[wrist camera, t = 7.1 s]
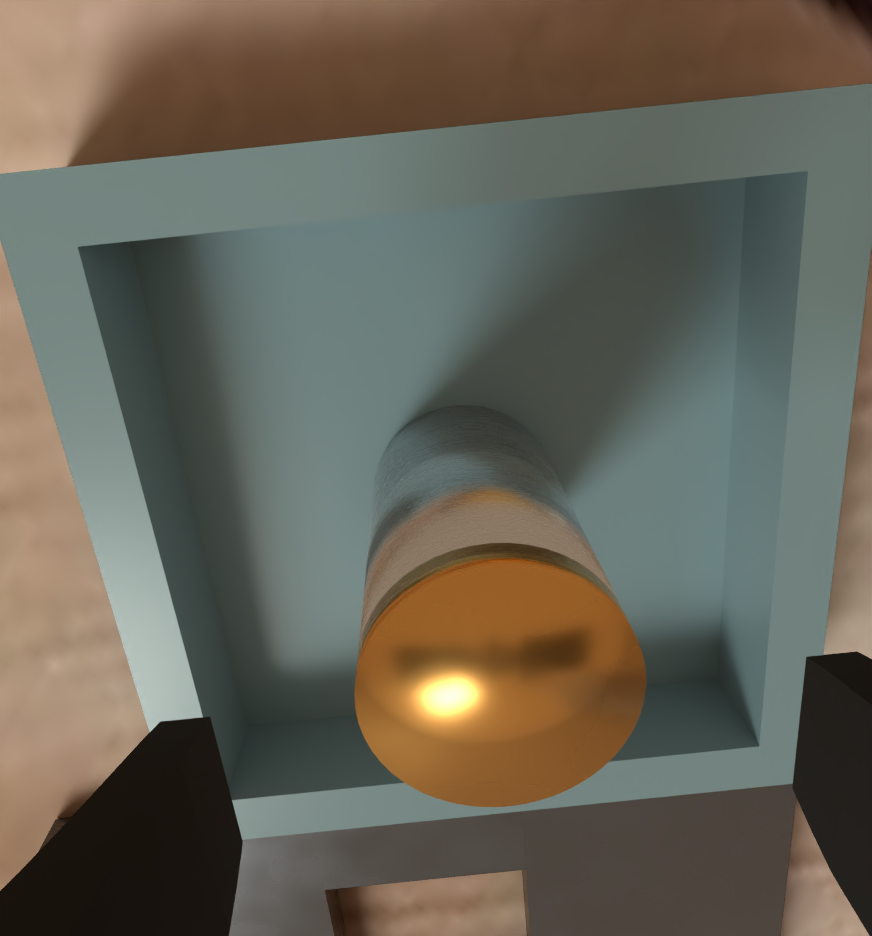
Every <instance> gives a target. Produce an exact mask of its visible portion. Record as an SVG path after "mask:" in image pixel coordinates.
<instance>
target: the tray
mask: <svg viewBox="0 0 872 936" xmlns="http://www.w3.org/2000/svg"><path fill="white" fill-rule="evenodd" d="M0 241H1V244H2V247H3V250H4V254H5V257H6V260H7V264H8V267H9V270H10V274H11V277H12V280H13V283H14V287H15V290H16V293H17V297H18V300H19V303H20V307H21V310H22V313H23V316H24V320H25V323H26V326H27V330H28V333H29V336H30V340H31V343H32V346H33V349H34V353H35V356H36V359H37V363H38V366H39V369H40V372H41V376H42V379H43V382H44V386H45V389H46V392H47V396H48V399H49V402H50V405H51V409H52V412H53V415H54V419H55V422H56V425H57V429H58V432H59V435H60V438H61V442H62V445H63V448H64V452H65V455H66V458H67V462H68V465H69V468H70V471H71V475H72V478H73V481H74V485H75V488H76V491H77V495H78V498H79V501H80V504H81V508H82V511H83V514H84V518H85V521H86V524H87V528H88V531H89V534H90V537H91V541H92V544H93V547H94V551H95V554H96V557H97V561H98V564H99V567H100V570H101V574H102V577H103V580H104V584H105V587H106V590H107V594H108V597H109V600H110V603H111V607H112V610H113V613H114V617H115V620H116V623H117V627H118V630H119V633H120V636H121V640H122V643H123V646H124V650H125V653H126V656H127V660H128V663H129V666H130V669H131V673H132V676H133V679H134V683H135V686H136V689H137V693H138V696H139V699H140V702H141V706H142V709H143V712H144V716H145V719H146V722H147V726H148V729H149V732H151V731H152V730H153V729H154V728H155V727H156V726H157V724H158V723H159V722H161V721H171V720H181V719H191V718H201V717H210V718H211V722H212V725H213V729H214V733H215V737H216V741H217V745H218V748H219V752H220V756H221V760H222V764H223V768H224V771H225V775H226V779H227V783H228V787H229V791H230V794H231V798H232V802H233V806H234V810H235V814H236V817H237V821H238V825H239V829H240V833H241V837H242V840H245V839H255V838H265V837H274V836H284V835H294V834H304V833H314V832H323V831H333V830H343V829H353V828H363V827H373V826H382V825H392V824H402V823H412V822H422V821H431V820H441V819H451V818H461V817H471V816H480V815H490V814H500V813H510V812H520V811H529V810H539V809H549V808H559V807H569V806H579V805H588V804H598V803H608V802H618V801H628V800H637V799H647V798H657V797H667V796H677V795H686V794H696V793H706V792H716V791H726V790H735V789H745V788H755V787H765V786H775V785H785V784H793V776H794V767H795V757H796V748H797V738H798V729H799V720H800V710H801V701H802V692H803V682H804V673H805V664H806V657H809V656H819V655H823V652H824V643H825V635H826V627H827V618H828V610H829V601H830V593H831V584H832V576H833V567H834V559H835V551H836V542H837V534H838V525H839V517H840V508H841V500H842V492H843V483H844V475H845V466H846V458H847V449H848V441H849V433H850V424H851V416H852V407H853V399H854V390H855V382H856V373H857V365H858V357H859V348H860V340H861V331H862V323H863V314H864V306H865V298H866V289H867V281H868V272H869V264H870V255H871V247H872V83H870V84H860V85H850V86H841V87H831V88H822V89H812V90H802V91H793V92H783V93H773V94H764V95H754V96H745V97H735V98H725V99H716V100H706V101H697V102H687V103H677V104H668V105H658V106H648V107H639V108H629V109H620V110H610V111H600V112H591V113H581V114H572V115H562V116H552V117H543V118H533V119H523V120H514V121H504V122H495V123H485V124H475V125H466V126H456V127H447V128H437V129H427V130H418V131H408V132H398V133H389V134H379V135H370V136H360V137H350V138H341V139H331V140H322V141H312V142H302V143H293V144H283V145H273V146H264V147H254V148H245V149H235V150H225V151H216V152H206V153H196V154H187V155H177V156H168V157H158V158H148V159H139V160H129V161H120V162H110V163H100V164H91V165H81V166H71V167H62V168H52V169H43V170H33V171H23V172H14V173H4V174H0ZM458 405H472V406H481V407H486V408H490V409H494V410H497V411H499V412H502V413H504V414H506V415H508V416H510V417H512V418H514V419H515V420H517V421H518V422H520V423H521V424H522V425H524V426H525V427H526V428H527V429H528V430H529V431H530V432H531V433H532V434H533V435H534V436H535V438H536V439H537V440H538V442H539V443H540V445H541V446H542V448H543V450H544V452H545V454H546V456H547V458H548V460H549V462H550V464H551V466H552V468H553V470H554V472H555V474H556V476H557V478H558V480H559V482H560V484H561V486H562V488H563V490H564V492H565V494H566V496H567V498H568V500H569V502H570V504H571V506H572V508H573V510H574V512H575V514H576V516H577V518H578V520H579V522H580V524H581V526H582V528H583V531H584V533H585V535H586V537H587V539H588V541H589V543H590V545H591V547H592V549H593V551H594V553H595V555H596V557H597V559H598V561H599V563H600V565H601V567H602V569H603V571H604V573H605V575H606V577H607V579H608V581H609V583H610V585H611V587H612V589H613V591H614V593H615V595H616V597H617V599H618V601H619V603H620V605H621V607H622V609H623V611H624V613H625V615H626V617H627V619H628V621H629V623H630V625H631V628H632V630H633V632H634V634H635V636H636V638H637V640H638V642H639V645H640V648H641V651H642V653H643V658H644V663H645V668H646V691H645V698H644V703H643V706H642V710H641V713H640V716H639V719H638V721H637V723H636V725H635V727H634V730H633V731H632V733H631V735H630V736H629V738H628V739H627V741H626V742H625V744H624V745H623V746H622V748H621V749H620V750H619V751H618V752H617V754H616V755H615V756H614V757H613V758H612V759H611V760H610V761H609V762H608V763H607V764H606V765H605V766H604V767H603V768H601V769H600V770H599V771H597V772H596V773H595V774H593V775H592V776H591V777H589V778H588V779H586V780H585V781H583V782H581V783H580V784H578V785H576V786H575V787H573V788H571V789H568V790H566V791H564V792H562V793H560V794H557V795H555V796H552V797H549V798H546V799H543V800H540V801H535V802H531V803H527V804H522V805H515V806H507V807H477V806H467V805H461V804H455V803H451V802H447V801H444V800H440V799H437V798H434V797H432V796H429V795H427V794H425V793H422V792H420V791H418V790H416V789H415V788H413V787H411V786H409V785H407V784H406V783H404V782H403V781H402V780H400V779H399V778H397V777H396V776H395V775H393V774H392V773H391V772H390V771H389V770H388V769H387V768H386V767H385V766H384V765H383V764H382V763H381V762H380V761H379V759H378V758H377V757H376V756H375V754H374V753H373V752H372V751H371V749H370V747H369V745H368V744H367V742H366V740H365V738H364V736H363V734H362V731H361V728H360V726H359V723H358V719H357V714H356V709H355V682H356V671H357V660H358V650H359V639H360V628H361V617H362V607H363V596H364V585H365V574H366V564H367V553H368V542H369V531H370V521H371V510H372V499H373V488H374V479H375V473H376V470H377V466H378V463H379V461H380V458H381V456H382V454H383V452H384V451H385V449H386V447H387V445H388V444H389V443H390V442H391V440H392V439H393V438H394V436H395V435H396V434H397V433H399V432H400V431H401V430H402V429H403V428H404V427H405V426H406V425H408V424H409V423H410V422H412V421H413V420H415V419H417V418H419V417H420V416H422V415H424V414H427V413H429V412H432V411H434V410H437V409H441V408H445V407H451V406H458Z"/></svg>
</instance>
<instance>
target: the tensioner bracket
mask: <svg viewBox="0 0 872 936" xmlns="http://www.w3.org/2000/svg"><path fill="white" fill-rule="evenodd" d="M792 785H793V784H785V785H775V786H765V787H755V788H745V789H735V790H726V791H716V792H706V793H696V794H686V795H677V796H667V797H657V798H647V799H637V800H628V801H618V802H608V803H598V804H588V805H579V806H569V807H559V808H549V809H539V810H529V811H520V812H510V813H500V814H490V815H480V816H471V817H461V818H451V819H441V820H431V821H422V822H412V823H402V824H392V825H382V826H373V827H363V828H353V829H343V830H333V831H323V832H314V833H304V834H294V835H284V836H274V837H265V838H255V839H245V840H243V846H242V853H241V860H240V867H239V875H238V882H237V889H236V895H235V902H234V908H233V914H232V920H231V926H230V932H229V936H346V933H345V929H344V924H343V919H342V914H341V909H340V904H339V899H338V894H337V890H336V889H339V888H349V887H359V886H369V885H379V884H389V883H398V882H408V881H418V880H428V879H438V878H447V877H457V876H467V875H477V874H487V873H497V872H506V871H516V870H522V875H523V889H524V902H525V916H526V930H527V936H781V927H782V918H783V909H784V900H785V891H786V882H787V873H788V864H789V855H790V846H791V837H792V828H793V819H794V810H795V801H796V795H795V793H794V791H793V788H792ZM69 819H70V818H67V819H58V820H55V822H54V824H53V826H52V827H51V829H50V831H49V833H48V835H47V837H46V839H45V840H44V842H43V844H42V846H41V848H40V850H41V849H42V848H43V847H44V846H45V845H46V844H47V843H48V842H49V840H50V839H51V838H52V837H53V836H54V835H55V834H56V833H57V832H58V831H59V830H60V829H61V828H62V827H63V826H64V825H65V823H66V822H67V821H68V820H69ZM40 850H39V851H40Z"/></svg>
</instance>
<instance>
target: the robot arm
mask: <svg viewBox="0 0 872 936" xmlns="http://www.w3.org/2000/svg"><path fill="white" fill-rule="evenodd" d="M792 788H793V791H794V793H795V795H796V797H797V799H798V802H799V804H800V806H801V808H802V811H803V813H804V815H805V817H806V819H807V822H808V824H809V826H810V828H811V831H812V833H813V835H814V837H815V839H816V841H817V843H818V845H819V847H820V849H821V851H822V854H823V856H824V858H825V860H826V862H827V864H828V866H829V868H830V870H831V872H832V874H833V876H834V877H835V879H836V881H837V882H838V884H839V886H840V887H841V889H842V891H843V892H844V894H845V896H846V897H847V899H848V901H849V902H850V904H851V906H852V907H853V909H854V911H855V912H856V914H857V915H858V917H859V919H860V920H861V922H862V924H863V925H864V927H865V929H866V930H867V932H868V934H869V935H870V936H872V659H870V658H868V657H866V656H864V655H863V654H861V653H859V652H849V653H839V654H829V655H819V656H809V657H806V664H805V673H804V682H803V692H802V701H801V710H800V720H799V729H798V738H797V748H796V757H795V767H794V776H793V785H792ZM242 846H243V840H242V837H241V833H240V829H239V825H238V821H237V817H236V814H235V810H234V806H233V802H232V798H231V794H230V791H229V787H228V783H227V779H226V775H225V771H224V768H223V764H222V760H221V756H220V752H219V748H218V745H217V741H216V737H215V733H214V729H213V725H212V722H211V718H210V717H201V718H191V719H181V720H171V721H161V722H159V723H158V724H157V726H156V727H155V728H154V729H153V730H152V731H151V732H150V733H149V734H148V735H147V736H146V737H145V738H144V739H143V740H142V741H141V742H140V743H139V744H138V745H137V747H136V748H135V749H134V750H133V751H132V752H131V753H130V754H129V755H128V756H127V757H126V759H125V760H124V761H123V762H122V763H121V764H120V765H119V766H118V767H117V768H116V769H115V771H114V772H113V773H112V774H111V775H110V776H109V777H108V778H107V779H106V780H105V781H104V783H103V784H102V785H101V786H100V787H99V788H98V789H97V790H96V791H95V792H94V793H93V795H92V796H91V797H90V798H89V799H88V800H87V801H86V802H85V803H84V804H83V805H82V806H81V808H80V809H79V810H78V811H77V812H76V813H75V814H74V815H73V816H72V817H71V818H70V819H69V820H68V821H67V822H66V823H65V825H64V826H63V827H62V828H61V829H60V830H59V831H58V832H57V833H56V834H55V835H54V836H53V837H52V838H51V839H50V840H49V842H48V843H47V844H46V845H45V846H44V847H43V848H42V849H41V850H40V851H39V852H38V853H37V854H36V855H35V856H34V857H33V858H32V860H31V861H30V862H29V863H28V864H27V865H26V866H25V867H24V868H23V869H22V870H21V871H20V872H19V873H18V874H17V875H16V876H15V877H14V878H13V879H12V880H11V881H10V882H9V883H8V884H7V885H6V886H5V887H4V888H3V889H2V890H1V891H0V936H229V932H230V926H231V920H232V914H233V908H234V902H235V895H236V889H237V882H238V875H239V867H240V860H241V853H242Z"/></svg>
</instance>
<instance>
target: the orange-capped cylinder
mask: <svg viewBox="0 0 872 936" xmlns="http://www.w3.org/2000/svg"><path fill="white" fill-rule="evenodd" d="M645 691H646V668H645V663H644V658H643V653H642V651H641V648H640V645H639V642H638V640H637V638H636V636H635V634H634V632H633V630H632V628H631V625H630V623H629V621H628V619H627V617H626V615H625V613H624V611H623V609H622V607H621V605H620V603H619V601H618V599H617V597H616V595H615V593H614V591H613V589H612V587H611V585H610V583H609V581H608V579H607V577H606V575H605V573H604V571H603V569H602V567H601V565H600V563H599V561H598V559H597V557H596V555H595V553H594V551H593V549H592V547H591V545H590V543H589V541H588V539H587V537H586V535H585V533H584V531H583V528H582V526H581V524H580V522H579V520H578V518H577V516H576V514H575V512H574V510H573V508H572V506H571V504H570V502H569V500H568V498H567V496H566V494H565V492H564V490H563V488H562V486H561V484H560V482H559V480H558V478H557V476H556V474H555V472H554V470H553V468H552V466H551V464H550V462H549V460H548V458H547V456H546V454H545V452H544V450H543V448H542V446H541V445H540V443H539V442H538V440H537V439H536V438H535V436H534V435H533V434H532V433H531V432H530V431H529V430H528V429H527V428H526V427H525V426H524V425H522V424H521V423H520V422H518V421H517V420H515V419H514V418H512V417H510V416H508V415H506V414H504V413H502V412H499V411H497V410H494V409H490V408H486V407H481V406H472V405H458V406H451V407H445V408H441V409H437V410H434V411H432V412H429V413H427V414H424V415H422V416H420V417H419V418H417V419H415V420H413V421H412V422H410V423H409V424H408V425H406V426H405V427H404V428H403V429H402V430H401V431H400V432H399V433H397V434H396V435H395V436H394V438H393V439H392V440H391V442H390V443H389V444H388V445H387V447H386V449H385V451H384V452H383V454H382V456H381V458H380V461H379V463H378V466H377V470H376V473H375V479H374V488H373V499H372V510H371V521H370V531H369V542H368V553H367V564H366V574H365V585H364V596H363V607H362V617H361V628H360V639H359V650H358V660H357V671H356V682H355V709H356V714H357V719H358V723H359V726H360V728H361V731H362V734H363V736H364V738H365V740H366V742H367V744H368V745H369V747H370V749H371V751H372V752H373V753H374V754H375V756H376V757H377V758H378V759H379V761H380V762H381V763H382V764H383V765H384V766H385V767H386V768H387V769H388V770H389V771H390V772H391V773H392V774H393V775H395V776H396V777H397V778H399V779H400V780H402V781H403V782H404V783H406V784H407V785H409V786H411V787H413V788H415V789H416V790H418V791H420V792H422V793H425V794H427V795H429V796H432V797H434V798H437V799H440V800H444V801H447V802H451V803H455V804H461V805H467V806H477V807H507V806H515V805H522V804H527V803H531V802H535V801H540V800H543V799H546V798H549V797H552V796H555V795H557V794H560V793H562V792H564V791H566V790H568V789H571V788H573V787H575V786H576V785H578V784H580V783H581V782H583V781H585V780H586V779H588V778H589V777H591V776H592V775H593V774H595V773H596V772H597V771H599V770H600V769H601V768H603V767H604V766H605V765H606V764H607V763H608V762H609V761H610V760H611V759H612V758H613V757H614V756H615V755H616V754H617V752H618V751H619V750H620V749H621V748H622V746H623V745H624V744H625V742H626V741H627V739H628V738H629V736H630V735H631V733H632V731H633V730H634V727H635V725H636V723H637V721H638V719H639V716H640V713H641V710H642V706H643V703H644V698H645Z"/></svg>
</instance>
